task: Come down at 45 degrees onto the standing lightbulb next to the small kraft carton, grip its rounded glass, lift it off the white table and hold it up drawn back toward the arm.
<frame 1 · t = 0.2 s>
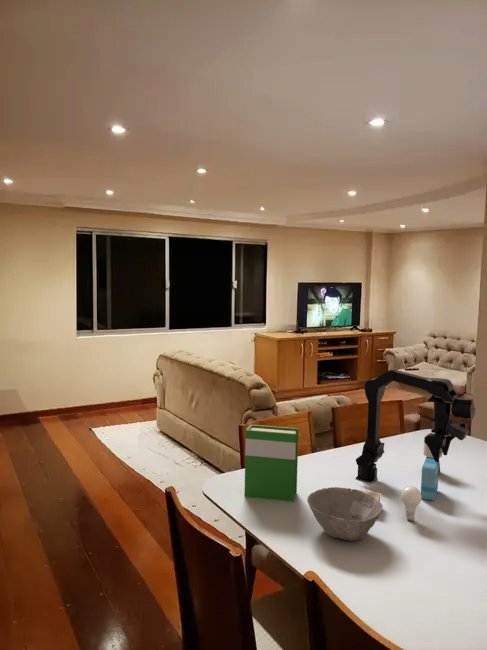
hand: (441, 458, 182), 15 cm above the table, tool pointing down, fingers open, 9 cm apart
character mug: (431, 472, 209), on the table
lightbulb: (410, 520, 166), on the table
hardback book: (270, 495, 184), on the table
kraft carton: (367, 508, 174), on the table
ceramic bowl: (343, 534, 156), on the table
data package: (429, 495, 186), on the table
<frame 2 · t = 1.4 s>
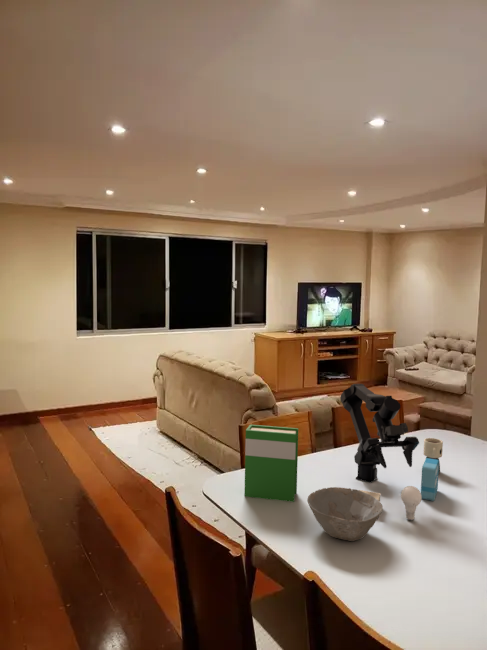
hand: (398, 467, 174), 14 cm above the table, tool tilted 45°, fingers open, 9 cm apart
nothing on the table moved.
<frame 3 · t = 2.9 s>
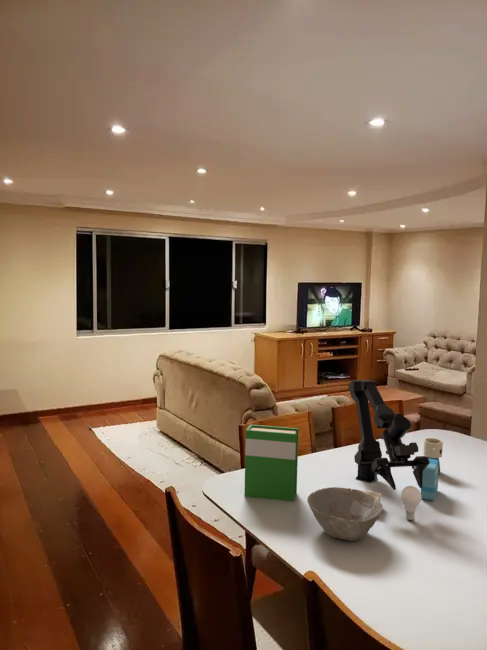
hand: (408, 488, 167), 10 cm above the table, tool tilted 45°, fingers open, 9 cm apart
nothing on the table moved.
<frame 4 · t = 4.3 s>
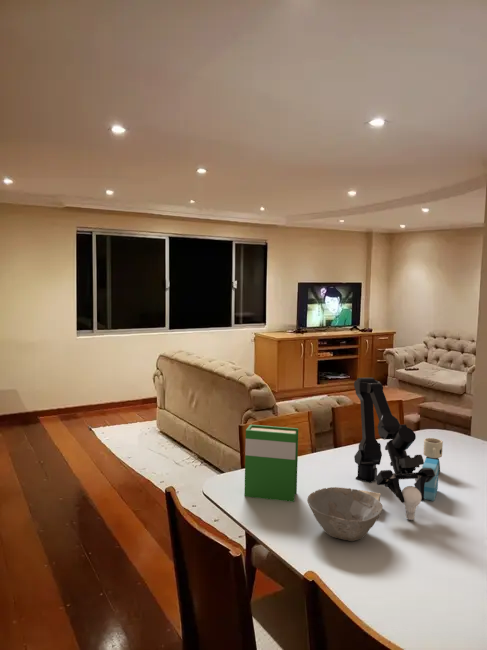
hand: (413, 501, 164), 7 cm above the table, tool tilted 45°, fingers closed on lightbulb, 6 cm apart
lightbulb: (410, 520, 166), on the table, touching gripper
everything else where it was.
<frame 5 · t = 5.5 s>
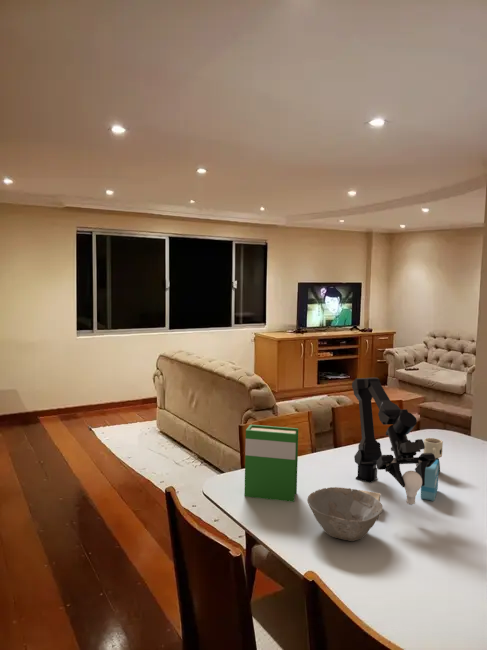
hand: (413, 486, 164), 12 cm above the table, tool tilted 45°, fingers closed on lightbulb, 6 cm apart
lightbulb: (410, 504, 166), point 5 cm above the table, touching gripper
everything else where it was.
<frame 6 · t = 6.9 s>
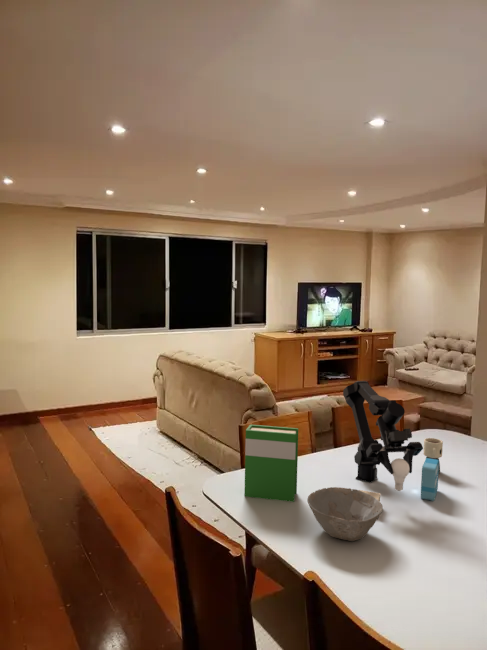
hand: (401, 473, 172), 13 cm above the table, tool tilted 45°, fingers closed on lightbulb, 6 cm apart
lightbulb: (398, 491, 174), point 6 cm above the table, touching gripper
everything else where it was.
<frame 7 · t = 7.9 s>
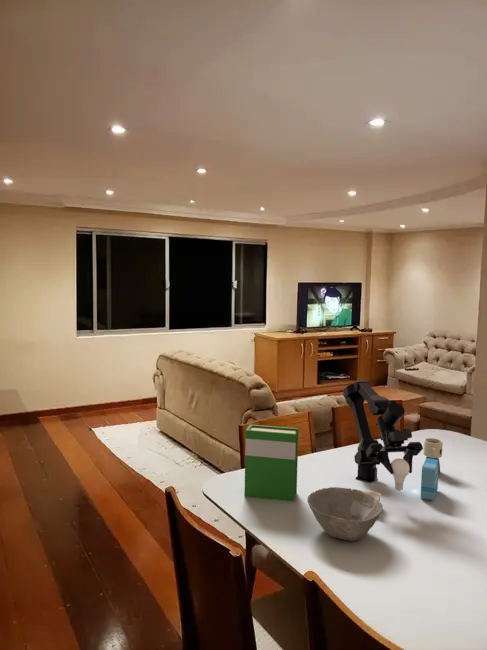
hand: (401, 473, 172), 13 cm above the table, tool tilted 45°, fingers closed on lightbulb, 6 cm apart
lightbulb: (398, 491, 174), point 6 cm above the table, touching gripper
everything else where it was.
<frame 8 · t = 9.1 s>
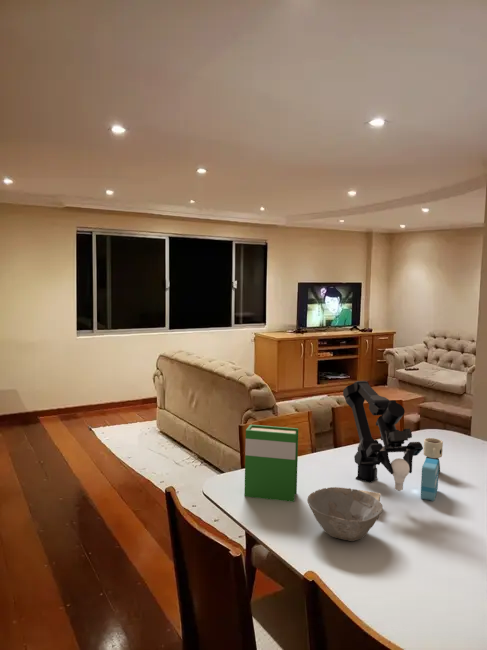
hand: (401, 473, 172), 13 cm above the table, tool tilted 45°, fingers closed on lightbulb, 6 cm apart
lightbulb: (398, 491, 174), point 6 cm above the table, touching gripper
everything else where it was.
at the end: the gripper is holding lightbulb; lightbulb touching gripper; lightbulb moved 10.4 cm from its start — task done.
